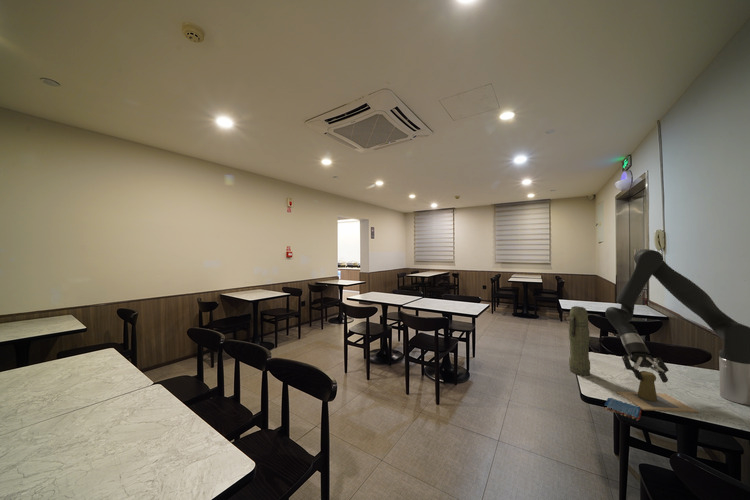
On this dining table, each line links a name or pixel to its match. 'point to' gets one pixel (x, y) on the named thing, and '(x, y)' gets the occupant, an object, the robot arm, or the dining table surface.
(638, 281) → the robot arm
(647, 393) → the cork
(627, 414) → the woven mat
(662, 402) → the tan flat board
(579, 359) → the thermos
